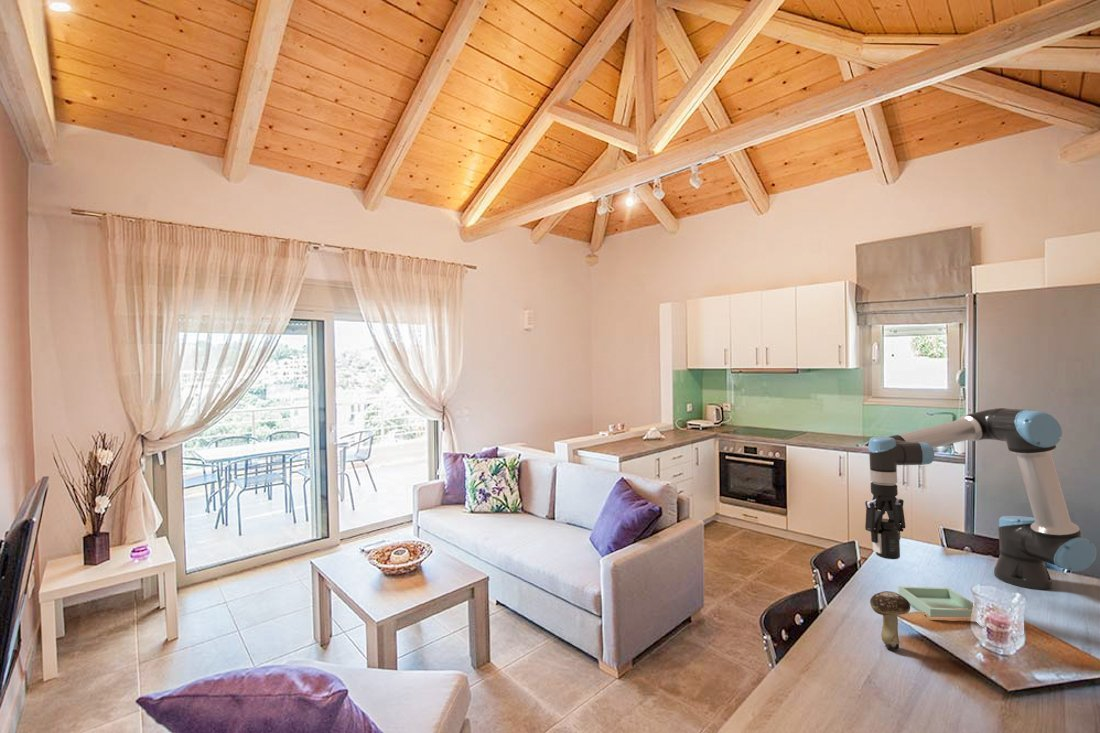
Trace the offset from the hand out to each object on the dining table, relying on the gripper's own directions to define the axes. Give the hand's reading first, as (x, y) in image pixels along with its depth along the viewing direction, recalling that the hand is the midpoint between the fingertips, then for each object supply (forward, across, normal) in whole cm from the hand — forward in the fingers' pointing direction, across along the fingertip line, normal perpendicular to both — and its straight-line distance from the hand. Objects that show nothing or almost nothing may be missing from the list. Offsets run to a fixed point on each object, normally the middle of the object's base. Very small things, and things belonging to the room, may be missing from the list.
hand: (886, 550), depth 163 cm
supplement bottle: (+2, 0, 0) cm, 2 cm away
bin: (+16, -10, +10) cm, 21 cm away
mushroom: (+16, +26, +24) cm, 39 cm away
